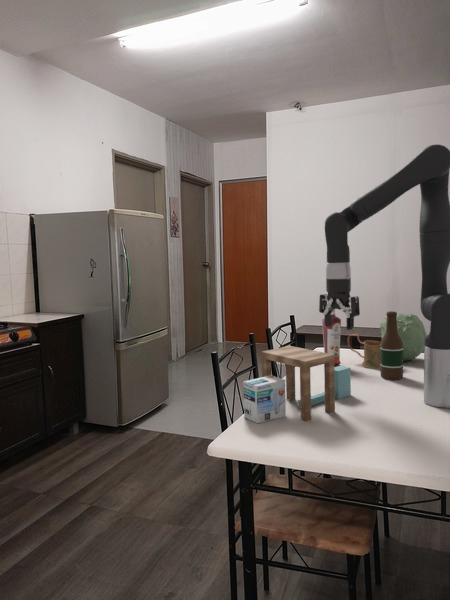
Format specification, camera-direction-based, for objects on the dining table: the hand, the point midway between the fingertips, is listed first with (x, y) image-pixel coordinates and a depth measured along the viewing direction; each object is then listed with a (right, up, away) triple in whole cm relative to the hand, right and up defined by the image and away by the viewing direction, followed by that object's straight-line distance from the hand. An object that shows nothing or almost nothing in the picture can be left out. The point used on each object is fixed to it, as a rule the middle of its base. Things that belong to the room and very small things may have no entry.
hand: (338, 327), depth 149 cm
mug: (+22, -18, +40) cm, 49 cm away
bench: (-14, -24, -9) cm, 29 cm away
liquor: (+7, -18, +41) cm, 45 cm away
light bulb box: (-25, -25, -14) cm, 38 cm away
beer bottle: (+24, -19, +21) cm, 37 cm away
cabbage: (+38, -16, +46) cm, 62 cm away
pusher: (-5, -23, -2) cm, 23 cm away
